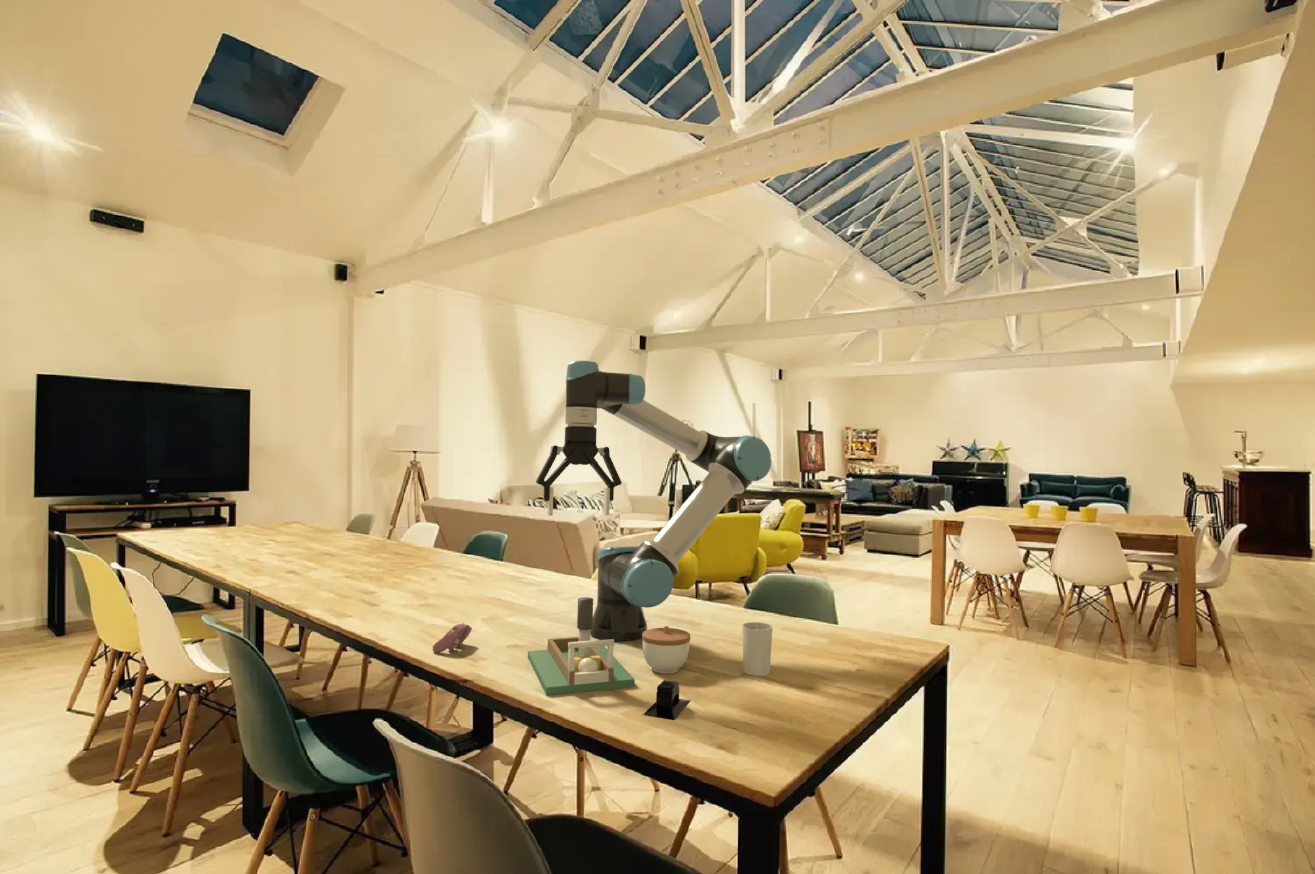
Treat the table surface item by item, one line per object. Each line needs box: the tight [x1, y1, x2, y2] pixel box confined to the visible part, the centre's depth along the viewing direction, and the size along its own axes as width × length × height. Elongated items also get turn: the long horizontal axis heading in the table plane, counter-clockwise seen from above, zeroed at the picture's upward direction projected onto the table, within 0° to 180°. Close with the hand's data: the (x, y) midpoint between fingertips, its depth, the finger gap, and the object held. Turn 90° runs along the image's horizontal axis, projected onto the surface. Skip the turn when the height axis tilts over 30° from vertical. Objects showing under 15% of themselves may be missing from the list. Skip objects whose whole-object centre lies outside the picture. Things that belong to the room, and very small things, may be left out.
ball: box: [578, 658, 598, 672], centre depth 133 cm, size 4×4×4 cm
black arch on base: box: [642, 679, 692, 721], centre depth 122 cm, size 13×8×5 cm, turn 160°
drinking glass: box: [742, 621, 773, 677], centre depth 145 cm, size 7×7×10 cm
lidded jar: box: [641, 625, 691, 674], centre depth 145 cm, size 11×11×9 cm
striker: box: [574, 596, 601, 673], centre depth 137 cm, size 6×3×15 cm, turn 109°
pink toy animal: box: [432, 622, 472, 654], centre depth 157 cm, size 10×5×7 cm, turn 170°
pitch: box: [527, 636, 636, 696], centre depth 142 cm, size 18×25×10 cm
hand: (578, 515), depth 156 cm, fingers open, 13 cm apart
